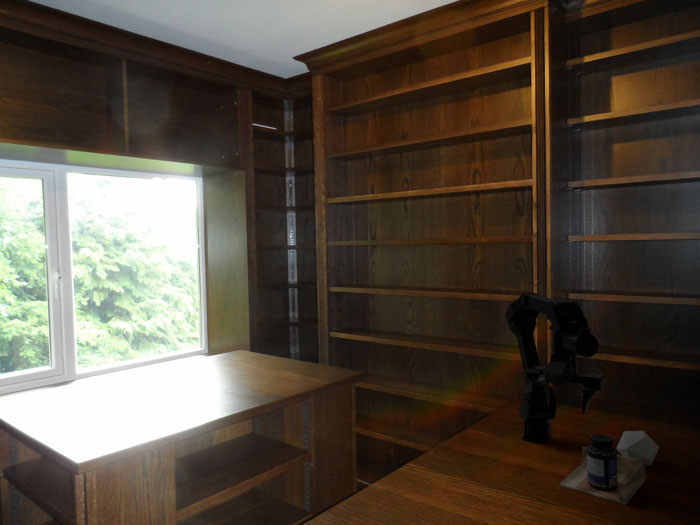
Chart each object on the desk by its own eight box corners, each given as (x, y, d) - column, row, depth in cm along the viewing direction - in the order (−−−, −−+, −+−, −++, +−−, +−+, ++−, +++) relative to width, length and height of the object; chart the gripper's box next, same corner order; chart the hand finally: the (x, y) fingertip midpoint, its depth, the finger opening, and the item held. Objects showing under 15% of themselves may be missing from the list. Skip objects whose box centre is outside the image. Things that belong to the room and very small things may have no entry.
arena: (559, 485, 118) (558, 466, 118) (583, 463, 129) (583, 446, 129) (625, 504, 108) (625, 484, 108) (645, 479, 120) (645, 460, 120)
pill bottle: (610, 479, 119) (609, 432, 119) (622, 492, 113) (621, 442, 113) (583, 479, 119) (582, 432, 119) (593, 491, 113) (593, 442, 113)
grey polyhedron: (656, 476, 123) (669, 439, 126) (622, 456, 124) (636, 421, 127) (638, 474, 131) (651, 440, 134) (606, 456, 132) (619, 422, 135)
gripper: (515, 350, 131) (516, 410, 132) (592, 359, 119) (593, 426, 119) (534, 344, 140) (535, 401, 140) (607, 352, 127) (608, 414, 127)
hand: (565, 410), depth 131 cm, fingers open, 9 cm apart
